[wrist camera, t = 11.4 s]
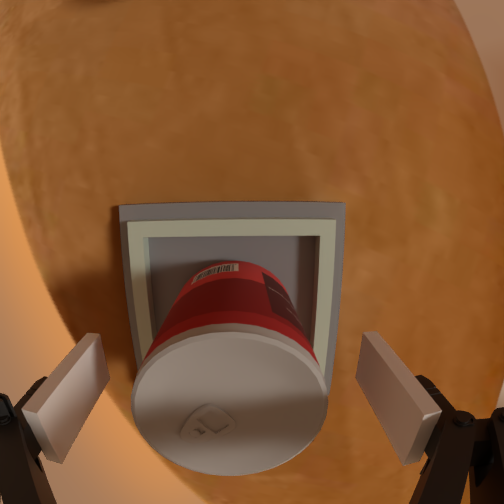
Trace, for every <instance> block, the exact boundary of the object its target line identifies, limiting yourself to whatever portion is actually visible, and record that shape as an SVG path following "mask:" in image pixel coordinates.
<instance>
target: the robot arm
mask: <svg viewBox="0 0 504 504" xmlns="http://www.w3.org/2000/svg"><path fill="white" fill-rule="evenodd" d="M356 379H357V381H358V383H359V385H360V387H361V388H362V390H363V392H364V394H365V396H366V398H367V399H368V401H369V403H370V405H371V407H372V409H373V410H374V412H375V414H376V416H377V418H378V420H379V422H380V423H381V425H382V427H383V429H384V431H385V433H386V435H387V436H388V438H389V440H390V442H391V444H392V446H393V448H394V450H395V452H396V453H397V455H398V457H399V459H400V461H401V463H402V465H403V466H404V465H408V464H411V463H415V462H418V461H420V459H421V457H422V455H423V453H424V451H425V453H426V454H427V456H428V459H427V461H426V463H425V465H424V467H423V469H422V471H421V472H420V474H421V476H420V479H419V481H418V484H417V486H416V488H415V491H414V493H413V495H412V498H411V500H410V502H409V504H460V503H461V499H462V496H463V492H464V488H465V484H466V480H467V476H468V471H469V481H470V504H504V407H502V408H497V409H495V410H494V412H493V413H492V415H491V417H490V418H487V419H475V417H474V416H473V415H472V414H470V413H469V412H466V411H459V410H458V411H456V410H455V409H454V407H453V406H452V405H451V404H450V403H449V401H448V400H447V399H446V398H445V397H444V396H443V394H441V392H440V391H439V390H438V389H437V388H436V386H435V385H434V384H433V383H432V382H431V380H429V379H427V378H426V377H424V376H422V375H418V376H414V375H413V374H412V373H411V371H410V370H409V369H408V368H407V367H406V365H405V364H404V363H403V362H402V361H401V359H400V358H399V357H398V356H397V355H396V353H395V352H394V351H393V350H392V349H391V347H390V346H389V345H388V344H387V343H386V342H385V340H384V339H383V338H382V337H381V336H380V334H379V333H378V332H377V331H374V332H363V336H362V342H361V349H360V355H359V361H358V367H357V372H356ZM109 380H110V376H109V372H108V368H107V363H106V359H105V355H104V350H103V346H102V341H101V336H100V334H97V333H87V334H86V335H85V336H84V337H83V338H82V339H81V340H80V341H79V342H78V344H77V345H76V346H75V347H74V348H73V349H72V350H71V351H70V352H69V354H68V355H67V356H66V357H65V358H64V359H63V360H62V362H61V363H60V364H59V365H58V366H57V367H56V369H55V370H54V371H53V372H52V373H51V374H50V375H49V377H43V378H41V379H39V380H38V381H36V382H35V383H34V384H33V386H32V387H31V388H30V389H29V390H28V391H27V392H26V395H24V396H23V397H22V398H21V399H20V401H19V402H18V403H17V404H16V405H15V406H14V408H13V406H12V404H11V401H10V399H9V397H8V396H7V395H5V394H2V393H0V497H1V496H2V500H3V504H57V503H56V501H55V498H54V496H53V493H52V491H51V488H50V485H49V483H48V480H47V477H46V474H45V471H44V468H43V466H42V463H41V460H40V458H39V457H38V455H39V453H40V452H41V450H42V452H43V453H44V455H45V457H46V459H47V460H50V461H54V462H57V463H60V464H62V463H63V461H64V459H65V457H66V455H67V454H68V452H69V450H70V448H71V446H72V444H73V443H74V441H75V439H76V437H77V435H78V433H79V432H80V430H81V428H82V426H83V424H84V423H85V421H86V419H87V417H88V416H89V414H90V412H91V410H92V409H93V407H94V405H95V403H96V401H97V400H98V398H99V396H100V394H101V393H102V391H103V390H104V388H105V386H106V385H107V383H108V381H109Z"/></svg>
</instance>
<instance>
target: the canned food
mask: <svg viewBox="0 0 504 504" xmlns="http://www.w3.org/2000/svg"><path fill="white" fill-rule="evenodd" d="M327 407H328V396H327V388H326V385H325V379H324V376H323V374H322V371H321V369H320V366H319V363H318V361H317V358H316V356H315V353H314V351H313V349H312V347H311V344H310V342H309V340H308V338H307V335H306V333H305V331H304V329H303V326H302V324H301V322H300V320H299V317H298V315H297V313H296V311H295V308H294V306H293V304H292V302H291V300H290V297H289V295H288V293H287V291H286V289H285V287H284V286H283V284H282V283H281V282H280V280H279V279H278V278H277V277H276V276H275V275H274V274H272V273H271V272H270V271H268V270H267V269H265V268H263V267H261V266H259V265H256V264H253V263H250V262H244V261H224V262H220V263H216V264H212V265H210V266H208V267H206V268H204V269H202V270H200V271H199V272H198V273H196V274H195V275H194V276H192V277H191V278H190V279H189V281H188V282H187V283H186V284H185V285H184V287H183V288H182V290H181V292H180V293H179V295H178V297H177V299H176V300H175V302H174V304H173V306H172V308H171V309H170V311H169V313H168V315H167V317H166V319H165V320H164V322H163V324H162V326H161V328H160V330H159V331H158V333H157V335H156V337H155V339H154V341H153V343H152V344H151V346H150V348H149V350H148V352H147V354H146V356H145V358H144V360H143V362H142V365H141V367H140V369H139V371H138V373H137V375H136V379H135V382H134V386H133V390H132V394H131V410H132V414H133V418H134V421H135V424H136V426H137V428H138V430H139V431H140V433H141V435H142V436H143V438H144V439H145V440H146V441H147V442H148V443H149V445H150V446H151V447H152V448H153V449H155V450H156V451H157V452H158V453H159V454H161V455H162V456H163V457H165V458H167V459H168V460H170V461H172V462H173V463H175V464H177V465H180V466H182V467H185V468H187V469H190V470H193V471H197V472H201V473H205V474H211V475H221V476H237V475H247V474H253V473H258V472H261V471H265V470H268V469H271V468H274V467H276V466H278V465H281V464H283V463H285V462H287V461H289V460H290V459H292V458H293V457H295V456H296V455H298V454H299V453H301V452H302V451H303V450H304V449H305V448H306V447H307V446H308V445H309V444H310V443H311V442H312V441H313V440H314V438H315V437H316V435H317V434H318V433H319V431H320V430H321V427H322V425H323V423H324V420H325V418H326V414H327Z"/></svg>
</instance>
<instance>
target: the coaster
mask: <svg viewBox="0 0 504 504" xmlns="http://www.w3.org/2000/svg"><path fill="white" fill-rule="evenodd" d="M345 204H346V203H343V202H316V201H210V202H172V203H146V204H125V205H119V217H120V235H121V249H122V261H123V272H124V282H125V291H126V299H127V307H128V314H129V321H130V328H131V335H132V341H133V347H134V353H135V359H136V364H137V369H138V371H139V369H140V367H141V365H142V362H143V360H144V358H145V356H146V354H147V352H148V350H149V348H150V346H151V344H152V343H153V341H154V339H155V337H156V335H157V333H158V331H159V330H160V328H161V326H162V324H163V322H164V320H165V319H166V317H167V315H168V313H169V311H170V309H171V308H172V306H173V304H174V302H175V300H176V299H177V297H178V295H179V293H180V292H181V290H182V288H183V287H184V285H185V284H186V283H187V282H188V281H189V279H190V278H191V277H192V276H194V275H195V274H196V273H198V272H199V271H200V270H202V269H204V268H206V267H208V266H210V265H212V264H216V263H220V262H224V261H244V262H250V263H253V264H256V265H259V266H261V267H263V268H265V269H267V270H268V271H270V272H271V273H272V274H274V275H275V276H276V277H277V278H278V279H279V280H280V282H281V283H282V284H283V286H284V287H285V289H286V291H287V293H288V295H289V297H290V300H291V302H292V304H293V306H294V308H295V311H296V313H297V315H298V317H299V320H300V322H301V324H302V326H303V329H304V331H305V333H306V335H307V338H308V340H309V342H310V344H311V347H312V349H313V351H314V353H315V356H316V358H317V361H318V363H319V366H320V369H321V371H322V374H323V376H324V379H325V385H326V388H327V395H329V393H330V386H331V379H332V371H333V364H334V356H335V347H336V339H337V329H338V320H339V309H340V298H341V285H342V271H343V255H344V234H345Z"/></svg>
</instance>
